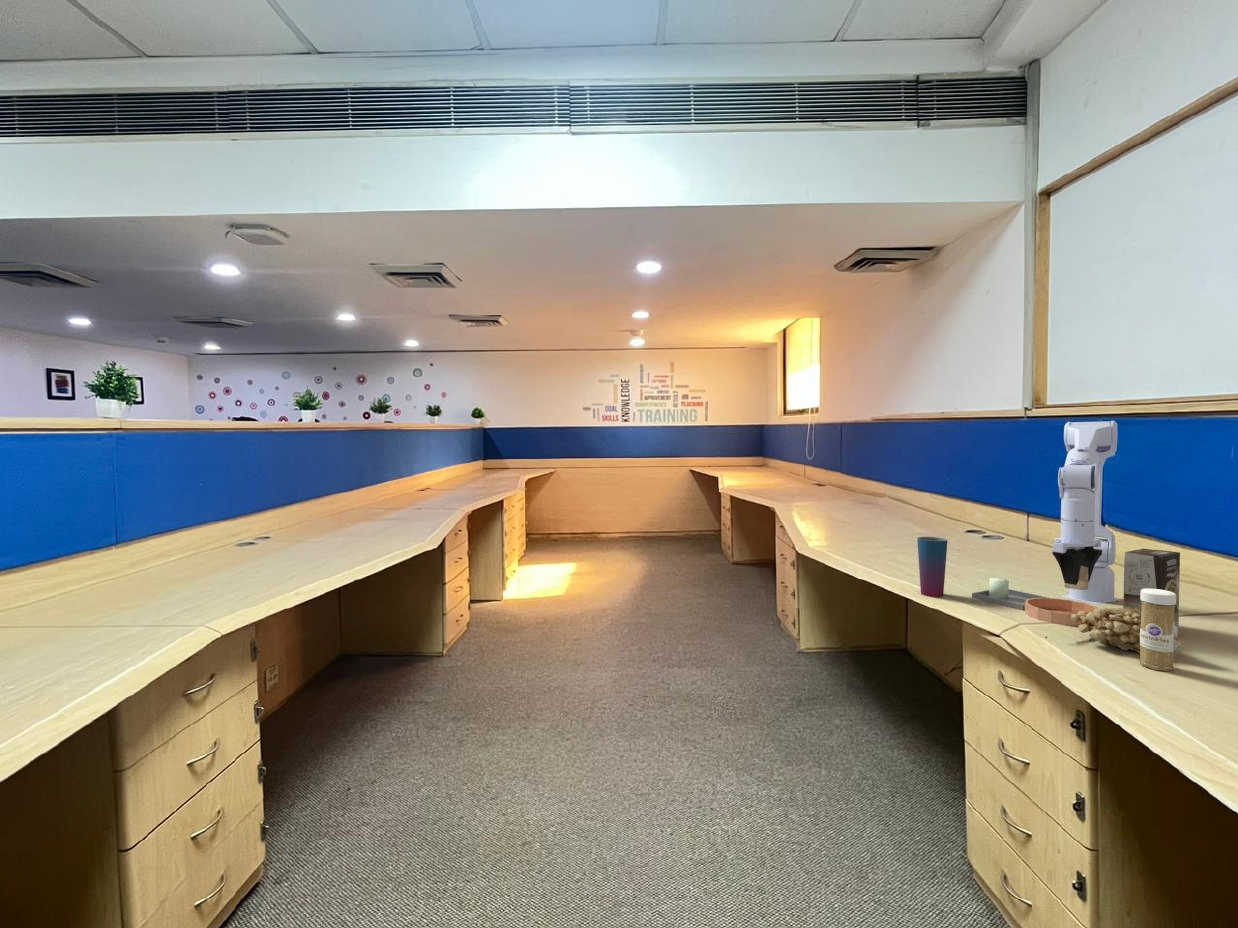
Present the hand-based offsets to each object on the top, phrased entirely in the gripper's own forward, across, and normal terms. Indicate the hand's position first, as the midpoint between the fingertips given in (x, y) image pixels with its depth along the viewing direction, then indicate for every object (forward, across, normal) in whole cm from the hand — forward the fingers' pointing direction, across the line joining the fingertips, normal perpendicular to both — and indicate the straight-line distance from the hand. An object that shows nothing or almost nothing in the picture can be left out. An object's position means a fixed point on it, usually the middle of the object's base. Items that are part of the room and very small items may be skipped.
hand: (1076, 582), depth 124 cm
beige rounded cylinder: (+1, 0, 0) cm, 1 cm away
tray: (+9, -4, -16) cm, 18 cm away
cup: (+9, +8, -28) cm, 31 cm away
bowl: (+9, 0, -3) cm, 9 cm away
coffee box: (+9, -10, +9) cm, 16 cm away
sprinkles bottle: (+9, +15, +20) cm, 26 cm away
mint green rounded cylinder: (+8, -4, -19) cm, 21 cm away
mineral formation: (+9, +8, +11) cm, 17 cm away
